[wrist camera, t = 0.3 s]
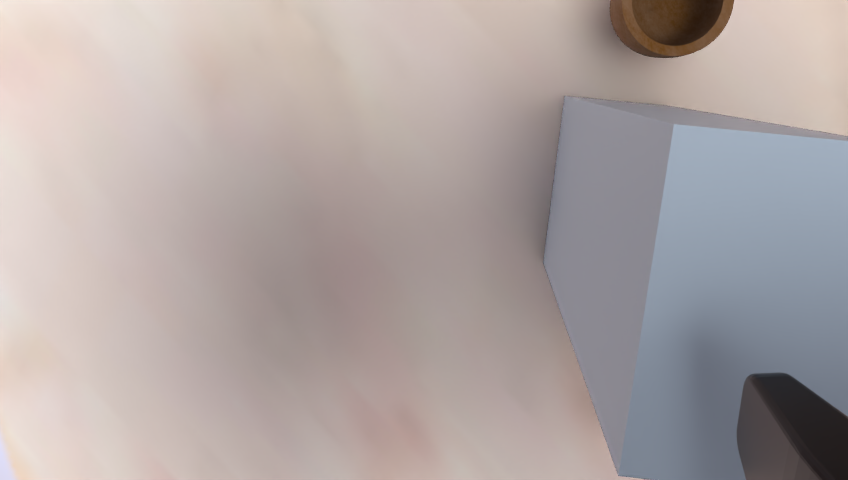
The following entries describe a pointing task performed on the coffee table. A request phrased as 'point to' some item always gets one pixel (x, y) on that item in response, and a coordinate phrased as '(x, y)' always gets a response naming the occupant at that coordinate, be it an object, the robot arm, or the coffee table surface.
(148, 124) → the coffee table surface
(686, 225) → the blue-gray rectangular block
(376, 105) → the coffee table surface
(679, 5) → the place setting
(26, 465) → the coffee table surface
